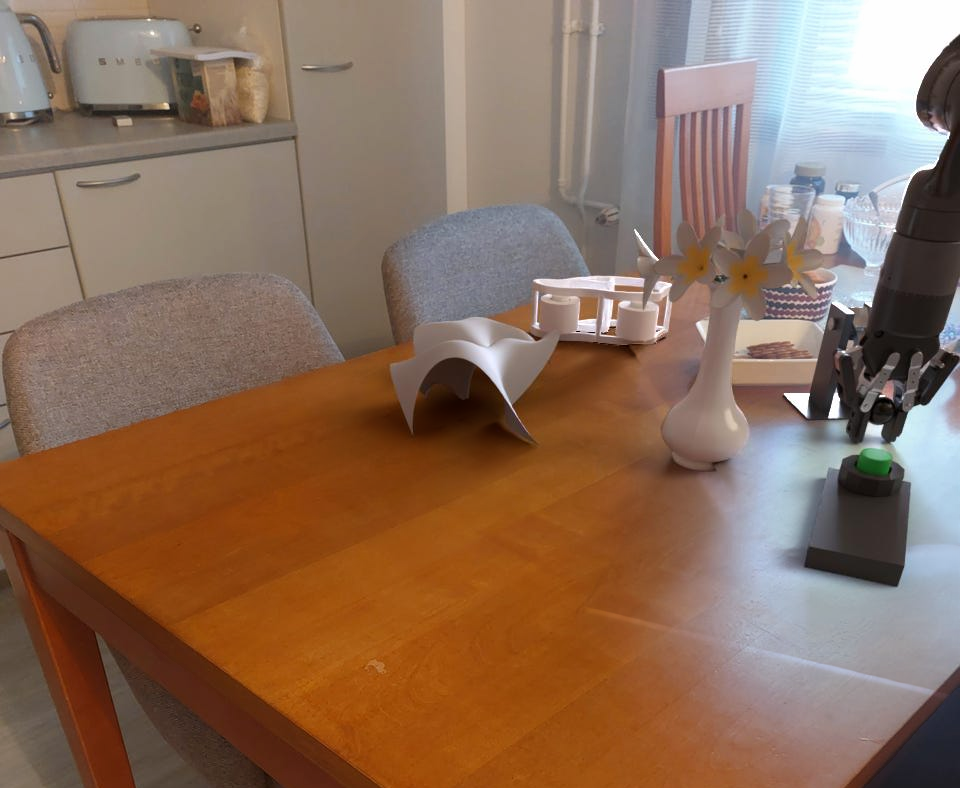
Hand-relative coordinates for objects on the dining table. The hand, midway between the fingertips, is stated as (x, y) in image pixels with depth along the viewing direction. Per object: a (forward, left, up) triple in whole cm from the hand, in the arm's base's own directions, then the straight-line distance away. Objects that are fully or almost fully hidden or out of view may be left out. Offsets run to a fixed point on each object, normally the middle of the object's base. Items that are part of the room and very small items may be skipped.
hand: (871, 439), depth 104 cm
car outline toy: (+23, -41, -1) cm, 47 cm away
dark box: (+10, +19, -1) cm, 21 cm away
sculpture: (+43, -17, -1) cm, 46 cm away
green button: (+7, +13, +2) cm, 15 cm away
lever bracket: (0, -10, -1) cm, 10 cm away
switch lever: (0, -6, +5) cm, 8 cm away
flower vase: (+21, +2, -1) cm, 21 cm away
